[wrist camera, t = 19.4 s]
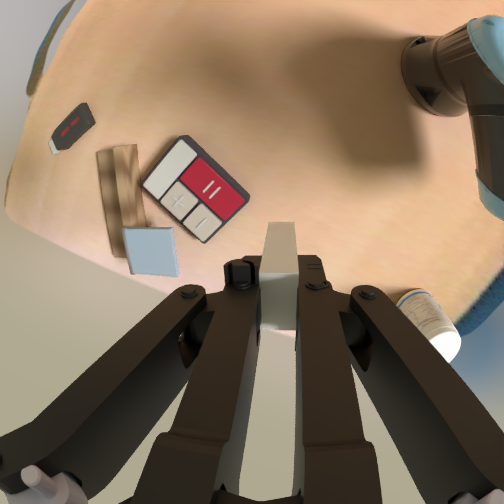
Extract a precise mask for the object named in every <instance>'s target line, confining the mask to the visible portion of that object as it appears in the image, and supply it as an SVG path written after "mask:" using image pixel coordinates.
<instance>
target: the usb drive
mask: <svg viewBox="0 0 504 504" xmlns="http://www.w3.org/2000/svg"><path fill="white" fill-rule="evenodd" d="M95 123H96V122H95V120H94V118H93V115H92V113H91V111H90V109H89V107H88V104H87V103H82V104H80V105H79V106H78V107H77V108H75V109H74V110H73V111H72V112H71V114H70V115H69V116H68V117H67V118H66V119H65V120H64V121H63V122H62V123H61V124H60V125H59V126H58V127H57V128H56V129H55V131H54V133H53V135H52V137H51V138H52V139H51V140H50V142H49V145H50V148H51V150H52V152H53V155H56V154H59V153H60V152H61V151H62V150H65V149H69V148H70V147H71V146H72V145H73V144H74V143H75V142H76V141H77V140H78V139H79V138H80V137H81V136H82V135H83V134H84V133H85V132H87V131H88V130H89V129H90V128H91V127H92V126H93V125H94V124H95Z"/></svg>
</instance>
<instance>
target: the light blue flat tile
mask: <svg viewBox="0 0 504 504" xmlns="http://www.w3.org/2000/svg"><path fill="white" fill-rule="evenodd" d="M121 230H122V235H123V241H124V246H125V250H126V255H127V260H128V264H129V269H130V273H131V274H132V275H134V274H145V275H157V276H169V277H178V276H179V275H180V272H179V266H178V260H177V254H176V247H175V240H174V233H173V227H128V226H124V227H121Z"/></svg>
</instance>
